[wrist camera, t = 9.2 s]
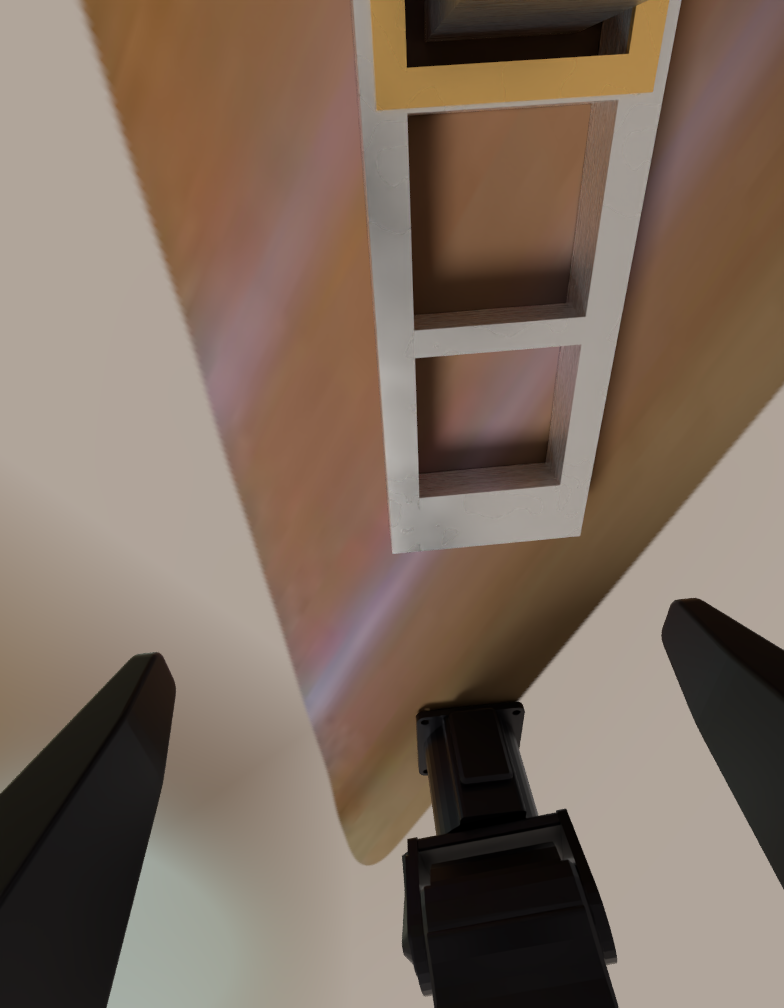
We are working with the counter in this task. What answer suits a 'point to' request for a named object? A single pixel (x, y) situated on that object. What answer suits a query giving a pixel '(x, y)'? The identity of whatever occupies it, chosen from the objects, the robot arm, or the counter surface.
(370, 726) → the counter surface
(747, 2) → the counter surface
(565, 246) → the counter surface
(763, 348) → the counter surface
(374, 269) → the socket frame
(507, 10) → the gray knob block
